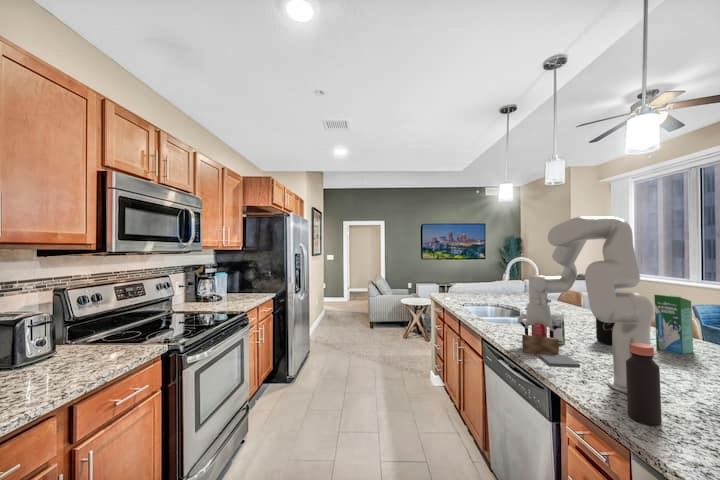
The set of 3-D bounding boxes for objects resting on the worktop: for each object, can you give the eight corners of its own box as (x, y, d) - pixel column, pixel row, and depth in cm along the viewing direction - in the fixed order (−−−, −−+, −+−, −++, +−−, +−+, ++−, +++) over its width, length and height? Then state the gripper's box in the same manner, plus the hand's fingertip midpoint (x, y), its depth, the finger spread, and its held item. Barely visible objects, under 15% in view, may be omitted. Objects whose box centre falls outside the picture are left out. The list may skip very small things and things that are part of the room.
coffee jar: (602, 345, 149) (601, 307, 149) (592, 339, 159) (591, 303, 159) (629, 347, 145) (627, 308, 146) (617, 340, 156) (616, 304, 156)
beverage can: (543, 345, 149) (542, 320, 149) (550, 350, 142) (549, 323, 143) (529, 345, 149) (529, 320, 150) (535, 349, 143) (535, 323, 143)
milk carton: (693, 352, 138) (691, 295, 138) (682, 354, 134) (680, 296, 135) (667, 346, 146) (665, 293, 147) (656, 348, 143) (654, 294, 143)
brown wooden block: (558, 353, 138) (557, 337, 138) (559, 356, 133) (558, 340, 133) (522, 348, 144) (522, 333, 145) (522, 352, 140) (522, 336, 140)
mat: (580, 367, 122) (579, 364, 122) (549, 365, 123) (549, 363, 123) (565, 357, 133) (565, 355, 133) (538, 356, 134) (538, 353, 134)
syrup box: (551, 343, 152) (550, 313, 153) (549, 340, 158) (548, 311, 158) (565, 344, 150) (564, 314, 150) (562, 341, 155) (561, 312, 156)
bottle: (639, 425, 81) (636, 348, 82) (621, 412, 88) (619, 341, 89) (668, 427, 80) (665, 349, 81) (648, 413, 87) (646, 342, 88)
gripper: (559, 301, 146) (560, 338, 145) (517, 298, 154) (518, 333, 154) (560, 304, 139) (561, 342, 139) (517, 301, 147) (518, 337, 147)
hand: (538, 337), depth 146 cm, fingers open, 9 cm apart
